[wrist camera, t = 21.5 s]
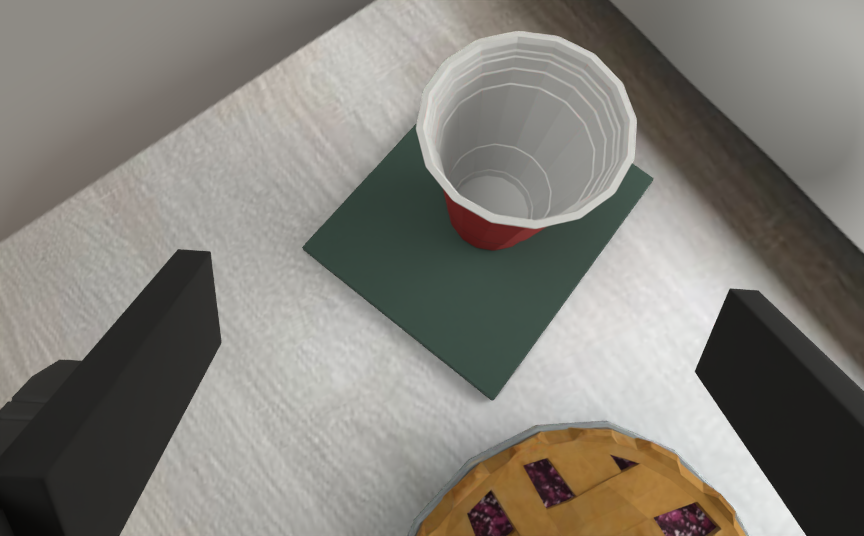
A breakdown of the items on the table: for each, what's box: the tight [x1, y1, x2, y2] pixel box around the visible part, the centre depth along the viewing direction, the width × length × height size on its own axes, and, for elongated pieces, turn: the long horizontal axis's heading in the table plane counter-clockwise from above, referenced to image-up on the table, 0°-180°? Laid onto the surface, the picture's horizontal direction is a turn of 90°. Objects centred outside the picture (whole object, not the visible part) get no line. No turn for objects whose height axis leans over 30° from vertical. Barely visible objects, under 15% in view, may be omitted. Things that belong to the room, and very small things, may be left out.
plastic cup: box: [416, 31, 637, 251], centre depth 32 cm, size 11×11×12 cm
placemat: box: [302, 124, 653, 400], centre depth 38 cm, size 16×20×1 cm
